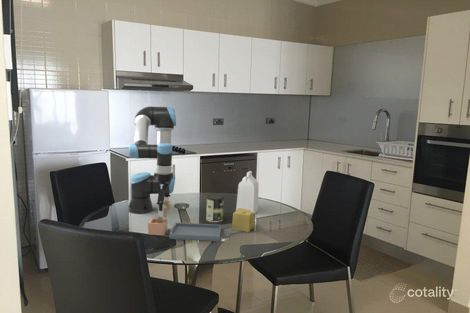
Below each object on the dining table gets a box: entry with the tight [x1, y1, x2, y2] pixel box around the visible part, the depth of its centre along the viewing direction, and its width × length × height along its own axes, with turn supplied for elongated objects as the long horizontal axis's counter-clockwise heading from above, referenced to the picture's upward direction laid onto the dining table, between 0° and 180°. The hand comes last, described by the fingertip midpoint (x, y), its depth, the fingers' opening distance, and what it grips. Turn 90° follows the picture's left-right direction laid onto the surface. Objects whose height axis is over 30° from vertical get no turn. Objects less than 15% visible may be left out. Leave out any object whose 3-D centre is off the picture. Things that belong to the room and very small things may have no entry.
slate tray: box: [168, 222, 222, 242], centre depth 203 cm, size 26×18×2 cm
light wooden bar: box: [156, 200, 173, 223], centre depth 202 cm, size 8×4×16 cm, turn 89°
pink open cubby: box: [147, 217, 169, 236], centre depth 203 cm, size 9×9×6 cm
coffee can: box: [205, 194, 225, 223], centre depth 227 cm, size 10×10×14 cm
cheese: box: [231, 208, 256, 233], centre depth 214 cm, size 10×11×10 cm
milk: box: [235, 170, 259, 215], centre depth 245 cm, size 12×12×26 cm
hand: (163, 212), depth 202 cm, fingers open, 13 cm apart
